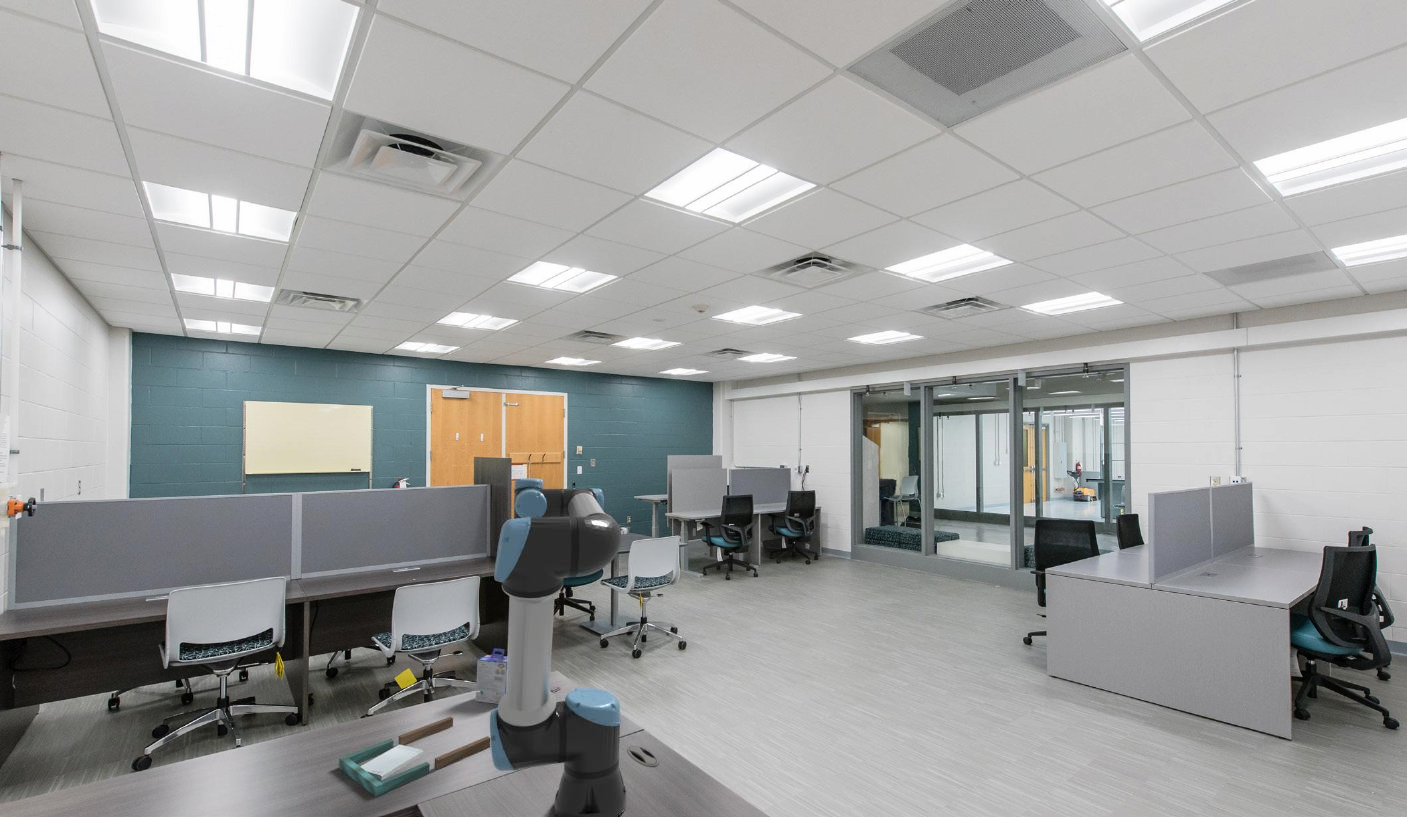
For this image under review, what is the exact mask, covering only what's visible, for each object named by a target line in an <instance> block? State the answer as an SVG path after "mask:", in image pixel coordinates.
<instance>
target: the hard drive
mask: <svg viewBox="0 0 1407 817" xmlns="http://www.w3.org/2000/svg"><path fill="white" fill-rule="evenodd" d="M424 753H425V752H424V750H423V749H420V748H416V747H413V746H407V745H398V744H397V745H395V746H393V748H392V749H390V750H389V751H387V752H385V753H383V754H381V755H378V756H375V758H374V757H373V759H371V760H369V761H368V762H366V763H364V764H362V765H361V766H360V765H359V766H360V767H361V768H363V769H364V770H365V771H367V772H368V773H369V774H371V775H372V776H373V777H375V778H376V779H377V780H379V781H382V780H385V779H387V778H389V777H390V776H391V775H392V774H395V773H396V772H398V771H399V770H401V769H402V768H404V767H405V766H407V765H409V764H410V763H412V762H413V761H415V760H417V759H419V758H420V757H422V756H424Z"/></svg>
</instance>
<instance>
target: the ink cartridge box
mask: <svg viewBox="0 0 1407 817" xmlns="http://www.w3.org/2000/svg"><path fill="white" fill-rule="evenodd" d="M495 652H496V653H495ZM497 652H499V653H500V654H499V653H497ZM504 654H505V649H503V648H496V647H495V648H493V651H492V653H491V654H490V655H489V654H486V655H484V656H482V657H481V658H479V659H478V660H477V662H476V663H477V664H476V665H477V666H476V683H475V684H476V686H475V688H476V689H475V702H478V703H487V704H489V703H490V704H496V705H498V704H499V702H500V700H501V698H502V697H503V696H504V695H505V694H506V684H507V656H504ZM476 691H480V692H476Z"/></svg>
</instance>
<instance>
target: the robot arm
mask: <svg viewBox="0 0 1407 817" xmlns="http://www.w3.org/2000/svg"><path fill="white" fill-rule="evenodd" d="M513 493H514V498H513V518H511V519H508V520H506V521H505V522H504V523H503V525H502V527H501V530H500V534H499V540H498V545H497V550H496V551H497V552H496V558H495V564H494V565H495V566H494V574H493V575H494V576H493V577H494V581H496V582H499V583H501V588H502V592H504V593H505V594H506V595H508V596H509V604H508V607H509V608H508V626H507V627H508V632H507V634H508V635H507V656H506V657H507V684H506V694H505V695H504V696H503V697H502V698H501V700H500V702H499V704H497V707H496V708H494V709H492V710H491V711H490V715H489V718H490V719H489V734H490V748H491V749H490V751H491V758H492V762H493V766H494V767H495V769H496V770H498V771H502V772H505V771H506V772H507V771H519V770H524V769H530V768H536V767H543V766H549V765H550V766H551V765H557V764H563V772H562V775H561V778H560V782H559V786H558V789H557V791H556V793H555V796H554V814H556V815H557V816H556V815H555V816H556V817H617V816H618V815H620V814H621V813H622V811H623V810H624V809H625V810H626V808H627V796H628V795H627V789H626V786H625V783H624V778H623V775H622V772H621V768H620V743H621V742H620V738H621V737H620V736H621V728H620V727H621V723H622V718H621V706H620V701H619V700H618V698H617V697H616V696H615V695H614V694H612V693H611V692H608V691H606V690H603V689H601V688H593V687H579V688H576V689H573V690H569V692H568V693H567V694H566V696H565V698H564V700H563V701H562V700H561V701H557V698H556V696H555V694H554V693H553V692H552V691H551V689H550V686H551V670H552V669H551V668H552V648H553V636H554V634H553V633H554V632H553V631H554V615H555V614H554V612H555V596H556V594H558V593H559V592H560V591H561V590H562V588H563V586H564V579H567V578H577V577H578V578H579V577H585V576H589V575H592V574H595V573H597V572H599V571H600V570H602V569H604V568H605V567H606V566H607V565H609V564H610V563H611V562H612V561H614V559H615V557H616V556H617V555H618V554H619V551H620V549H621V547H622V546H621V545H622V543H623V542H622V540H623V535H622V530H621V528H620V525H619V524H618V522H617V521H616V520H615V518H614V517H612V516H611V515H609V514H607V513H605V511H604V506H605V504H604V503H605V498H604V492H603V491H602V489H600V488H591V487H587V488H586V487H585V488H544V481H543V479H541V478H526V477H525V478H523V477H522V478H518V479H515V482H514V489H513ZM625 807H626V808H625ZM625 810H624V811H625ZM622 814H623V813H622ZM622 814H621V815H622ZM621 815H620V816H621Z"/></svg>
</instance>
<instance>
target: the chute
mask: <svg viewBox="0 0 1407 817" xmlns="http://www.w3.org/2000/svg"><path fill="white" fill-rule="evenodd" d="M452 727H454V717H452V716H449V717H448V716H447V717H446V718H443V719H440V720H437V721H435V722H433V723H429V724H427V725H424V726H421V727H419V728H416V729H414V730H410V731H408V732H405V733H402V734H400V735H398V744H397V746H398V745H404V746H407V745H408V744H412V743H413V742H416V741H418V740H421V739H424V738H426V737H430V736H432V735H435V734H437V733H439V732H442V731H444V730H447V729H450V728H452ZM488 747H489V748H491V736H485V737H482V738H480V739H477V740H475V741H473V742H469V743H467V744H465V745H463V746H461V747H458V748H456V749H454V750H452V751H449V752H447V753H444V754H442V755H440V756H437V757H434V763H433V765H434V766H433V767H434V769H435V770H437V771H438V770H440V769H443V768H446V767H447V766H450V765H452V764H454V763H457V762H459V761H462V760H463V759H465V758H468V757H470V756H473V755H475V754H477V753H480V752H481V751H484V750H486V749H489V748H488ZM392 748H394V740H393V739H392V738H390V739H386V740H383V741H381V742H379V743H376V744H373V745H370V746H368V747H364V748H363V749H359V750H358V751H355V752H352V753H349V754H346V755H343V756H341V757H339V758H338V768H339V770H341V771H342V772H343V773H345V774H346V775H348V776H349V777H350V779H352V780H354V781H355V782H356V783H357V784H358V785H360V786H361V787H363V788H364V789H365V790H366V791H367V792H369V793H370V794H371V795H372V796H374V797H375V798H377V797H380V796H382V795H384V794H387V793H388V792H391V791H392V790H395V789H397V788H400V787H401V786H404V785H408V784H409V783H411V782H414V781H416V780H418V779H420V778H423V777H425V776H427V775H429V774H430V763H429V762H428V761H425V762H424V763H421V764H418V765H416V766H414V767H410V768H409V769H407V770H404V771H402V772H399V773H397V774H395V775H393V776H389V777H386V778H384V779H383V780H379V779H376V778H375V777H373V776H372V775H371V774H369V773H368V772H367V771H365V770H364V769H363V768H361V767H360V765H359V763H362V762H365V761H367V760H370V759H372V758H373V759H374V757H375V758H376V757H378V756H380V755H382V754H383V753H385V752H387V751H389V750H390V749H392ZM479 751H480V752H479Z"/></svg>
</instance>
